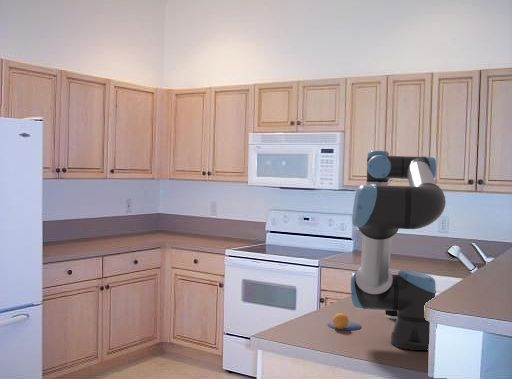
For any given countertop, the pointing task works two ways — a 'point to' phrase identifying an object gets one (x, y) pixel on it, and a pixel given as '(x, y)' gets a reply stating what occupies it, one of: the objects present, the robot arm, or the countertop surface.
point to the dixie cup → (391, 314)
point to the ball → (340, 321)
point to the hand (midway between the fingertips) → (374, 260)
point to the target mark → (349, 327)
